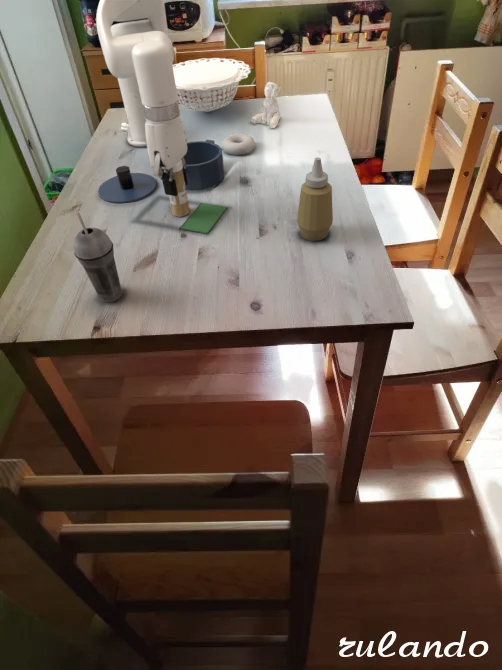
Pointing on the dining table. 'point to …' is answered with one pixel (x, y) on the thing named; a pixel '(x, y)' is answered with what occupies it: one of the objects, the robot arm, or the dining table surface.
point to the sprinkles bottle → (179, 192)
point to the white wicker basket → (208, 82)
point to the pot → (204, 165)
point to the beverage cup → (98, 261)
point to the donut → (238, 144)
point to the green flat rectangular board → (203, 218)
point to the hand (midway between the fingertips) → (176, 188)
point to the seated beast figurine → (269, 107)
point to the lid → (127, 186)
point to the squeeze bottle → (315, 204)
